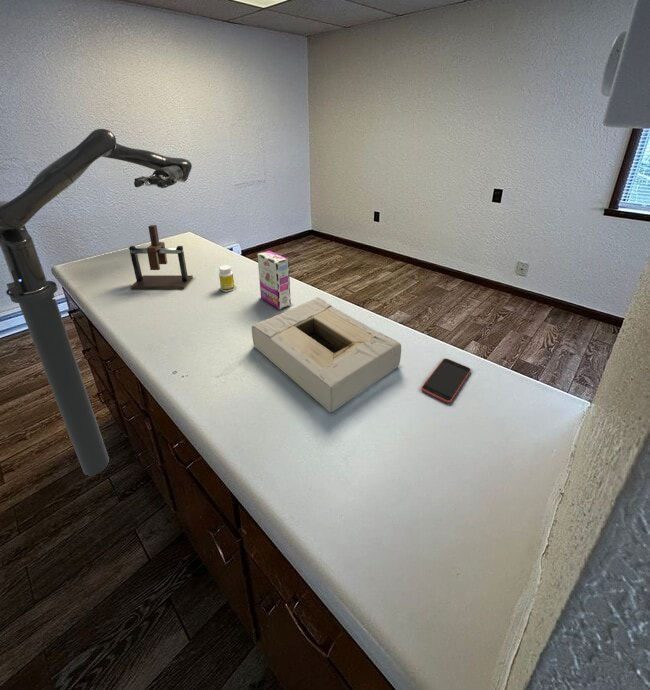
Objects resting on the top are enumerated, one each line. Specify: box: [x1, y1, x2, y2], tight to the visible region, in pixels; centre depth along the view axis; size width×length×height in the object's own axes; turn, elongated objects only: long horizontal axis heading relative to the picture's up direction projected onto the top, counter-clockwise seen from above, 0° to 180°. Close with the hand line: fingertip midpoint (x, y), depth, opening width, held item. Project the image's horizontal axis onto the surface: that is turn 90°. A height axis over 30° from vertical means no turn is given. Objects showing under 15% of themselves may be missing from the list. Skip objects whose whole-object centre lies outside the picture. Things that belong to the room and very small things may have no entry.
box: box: [251, 297, 402, 413], centre depth 92 cm, size 23×8×32 cm
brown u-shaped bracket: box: [146, 224, 168, 271], centre depth 128 cm, size 7×3×15 cm, turn 179°
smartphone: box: [421, 358, 472, 404], centre depth 84 cm, size 7×1×14 cm
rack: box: [128, 245, 194, 290], centre depth 130 cm, size 9×19×15 cm, turn 89°
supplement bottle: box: [218, 264, 235, 293], centre depth 127 cm, size 5×5×8 cm
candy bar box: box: [256, 250, 292, 311], centre depth 117 cm, size 11×5×16 cm, turn 42°
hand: (147, 184), depth 132 cm, fingers open, 8 cm apart
